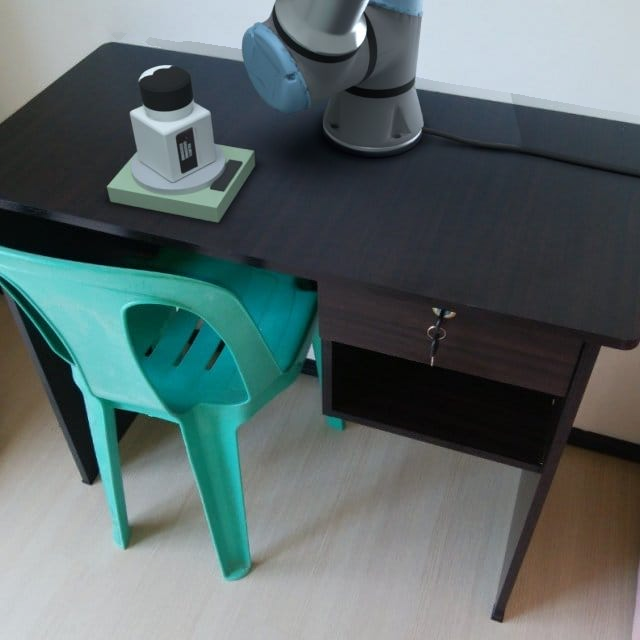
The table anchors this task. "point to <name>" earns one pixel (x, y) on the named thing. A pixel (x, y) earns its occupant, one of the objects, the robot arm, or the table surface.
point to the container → (171, 124)
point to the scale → (185, 185)
